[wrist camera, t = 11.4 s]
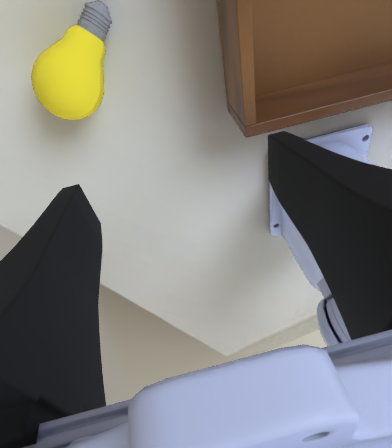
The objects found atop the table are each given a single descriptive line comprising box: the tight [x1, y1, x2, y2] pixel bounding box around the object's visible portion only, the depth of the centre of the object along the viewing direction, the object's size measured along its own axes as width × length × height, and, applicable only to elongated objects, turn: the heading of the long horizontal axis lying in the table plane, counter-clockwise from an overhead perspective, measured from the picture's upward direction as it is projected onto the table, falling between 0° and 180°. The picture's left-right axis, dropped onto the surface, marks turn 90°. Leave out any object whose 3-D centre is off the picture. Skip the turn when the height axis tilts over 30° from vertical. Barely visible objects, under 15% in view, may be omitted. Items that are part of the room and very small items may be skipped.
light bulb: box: [31, 0, 112, 120], centre depth 16 cm, size 3×6×4 cm, turn 145°
